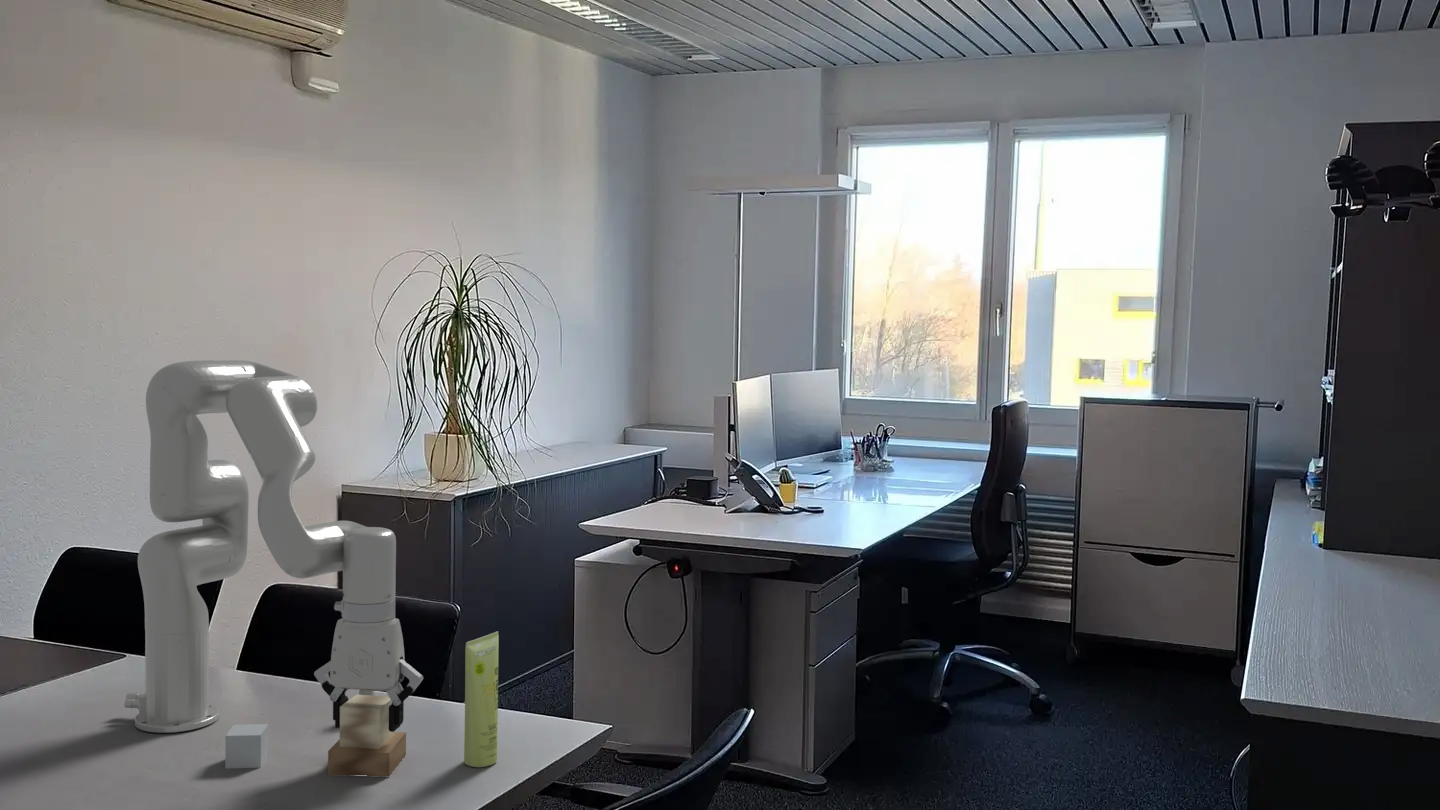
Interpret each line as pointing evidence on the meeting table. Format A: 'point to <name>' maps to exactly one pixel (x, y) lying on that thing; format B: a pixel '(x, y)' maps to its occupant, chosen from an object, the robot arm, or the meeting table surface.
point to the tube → (481, 701)
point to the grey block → (246, 746)
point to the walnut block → (367, 758)
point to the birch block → (365, 722)
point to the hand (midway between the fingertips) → (368, 726)
